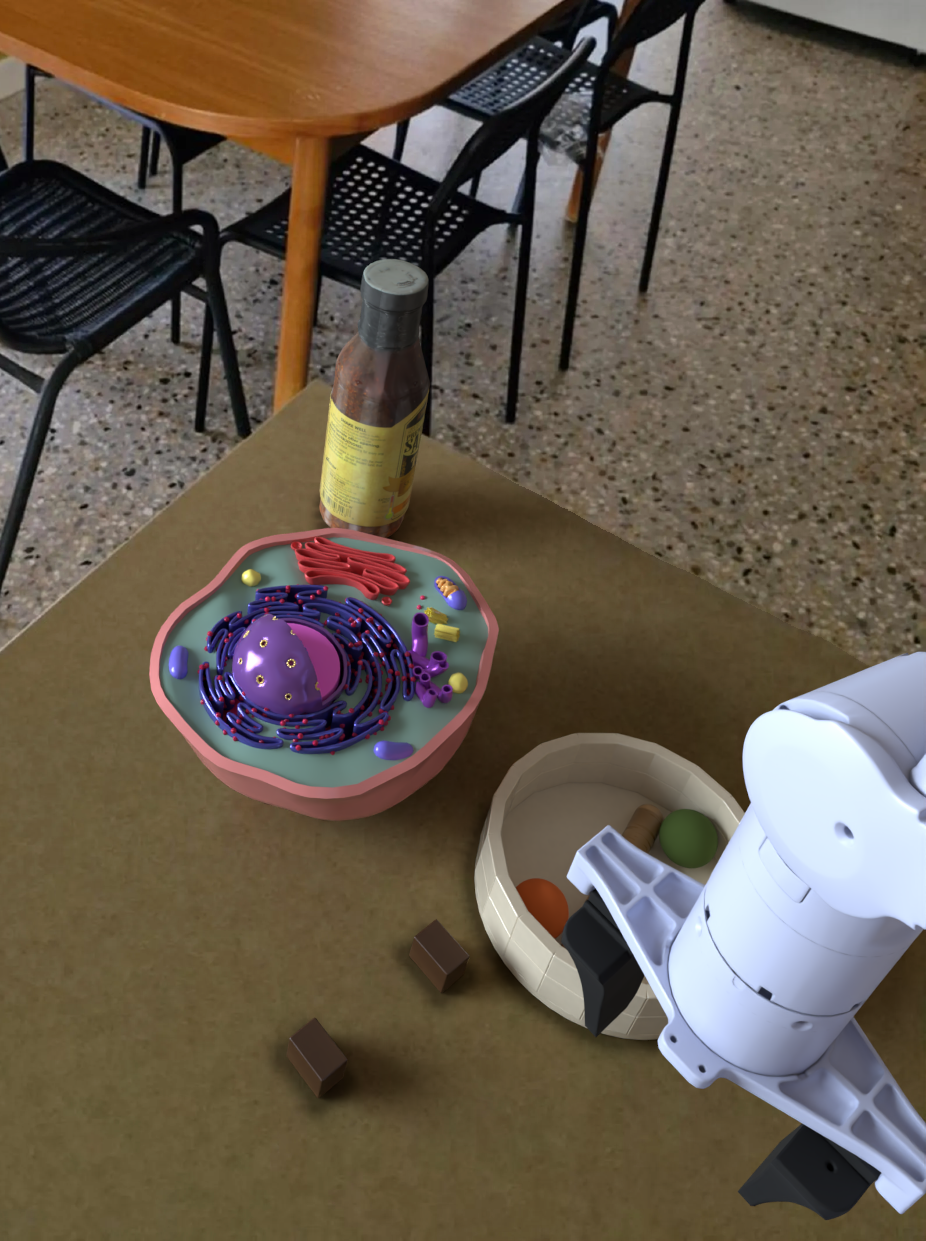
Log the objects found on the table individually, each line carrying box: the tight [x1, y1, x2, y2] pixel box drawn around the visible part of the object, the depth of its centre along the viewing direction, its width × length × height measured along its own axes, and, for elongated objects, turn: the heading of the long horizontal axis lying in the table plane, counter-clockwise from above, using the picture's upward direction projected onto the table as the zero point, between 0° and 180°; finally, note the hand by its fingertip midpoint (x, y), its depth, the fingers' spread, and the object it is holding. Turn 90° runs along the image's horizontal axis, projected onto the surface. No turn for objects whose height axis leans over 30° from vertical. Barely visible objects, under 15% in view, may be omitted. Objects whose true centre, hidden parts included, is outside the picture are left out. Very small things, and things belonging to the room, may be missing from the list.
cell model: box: [148, 527, 500, 822], centre depth 70 cm, size 17×20×11 cm
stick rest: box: [285, 918, 470, 1099], centre depth 60 cm, size 10×2×2 cm, turn 128°
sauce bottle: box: [319, 258, 431, 539], centre depth 81 cm, size 7×6×20 cm
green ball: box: [659, 809, 718, 868], centre depth 67 cm, size 3×3×3 cm
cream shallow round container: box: [473, 732, 745, 1041], centre depth 65 cm, size 14×14×4 cm
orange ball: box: [516, 878, 569, 939], centre depth 63 cm, size 3×3×3 cm
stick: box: [561, 804, 664, 948], centre depth 66 cm, size 11×2×2 cm
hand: (679, 1095), depth 50 cm, fingers open, 7 cm apart
